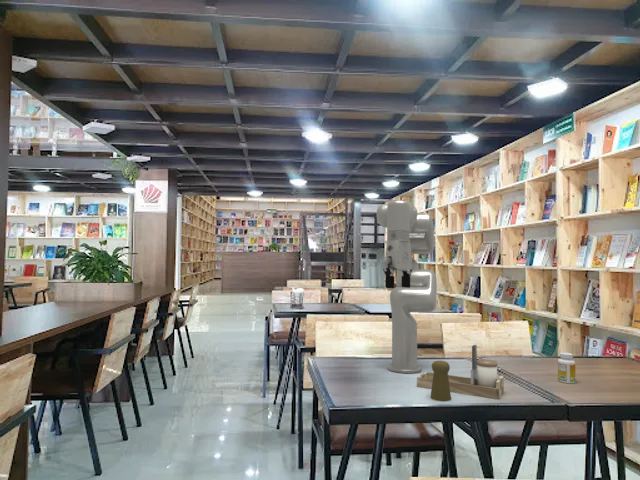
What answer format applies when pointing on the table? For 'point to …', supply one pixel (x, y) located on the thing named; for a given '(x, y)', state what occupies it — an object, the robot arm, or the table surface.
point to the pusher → (474, 365)
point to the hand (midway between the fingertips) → (398, 287)
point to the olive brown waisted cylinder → (440, 381)
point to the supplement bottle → (566, 368)
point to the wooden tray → (464, 385)
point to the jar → (486, 373)
